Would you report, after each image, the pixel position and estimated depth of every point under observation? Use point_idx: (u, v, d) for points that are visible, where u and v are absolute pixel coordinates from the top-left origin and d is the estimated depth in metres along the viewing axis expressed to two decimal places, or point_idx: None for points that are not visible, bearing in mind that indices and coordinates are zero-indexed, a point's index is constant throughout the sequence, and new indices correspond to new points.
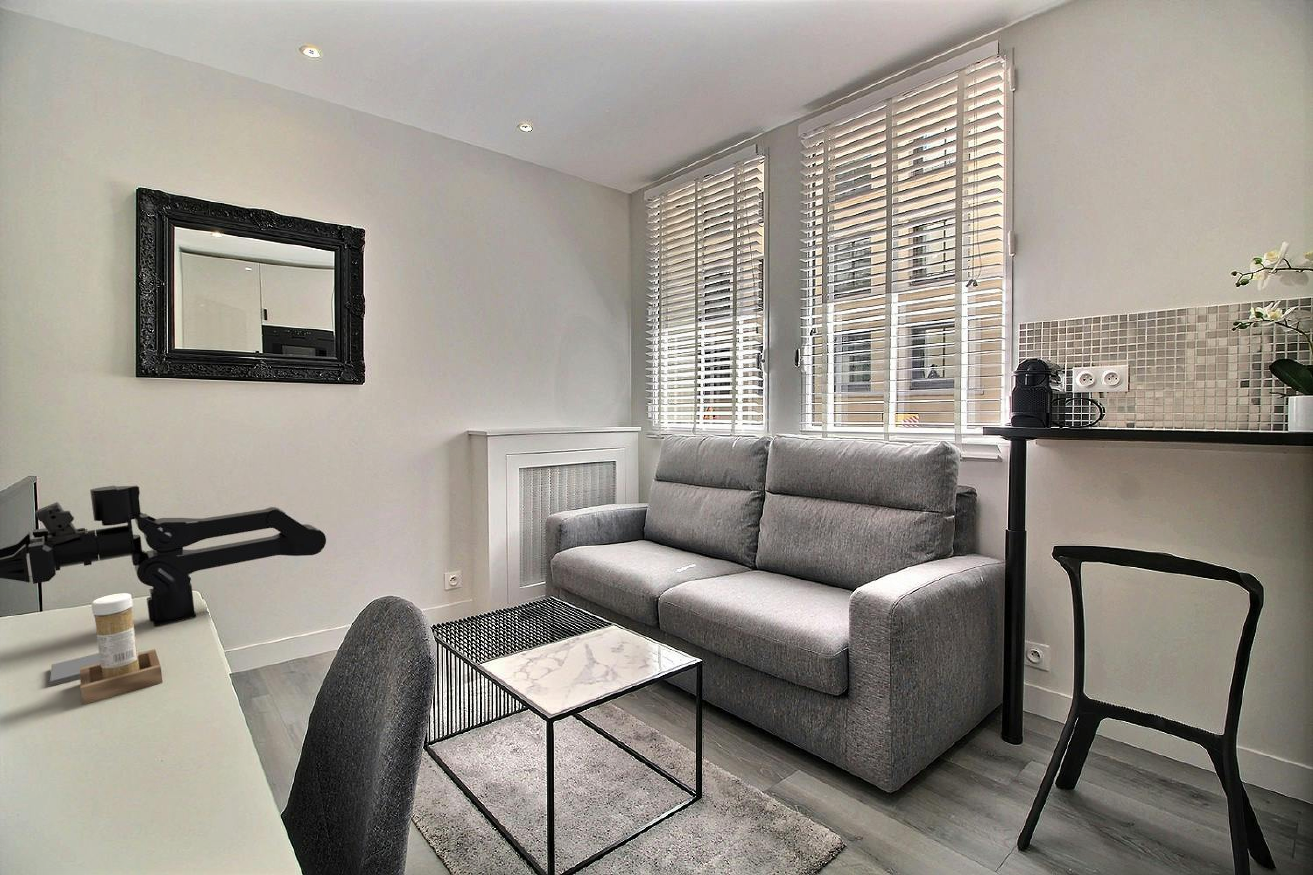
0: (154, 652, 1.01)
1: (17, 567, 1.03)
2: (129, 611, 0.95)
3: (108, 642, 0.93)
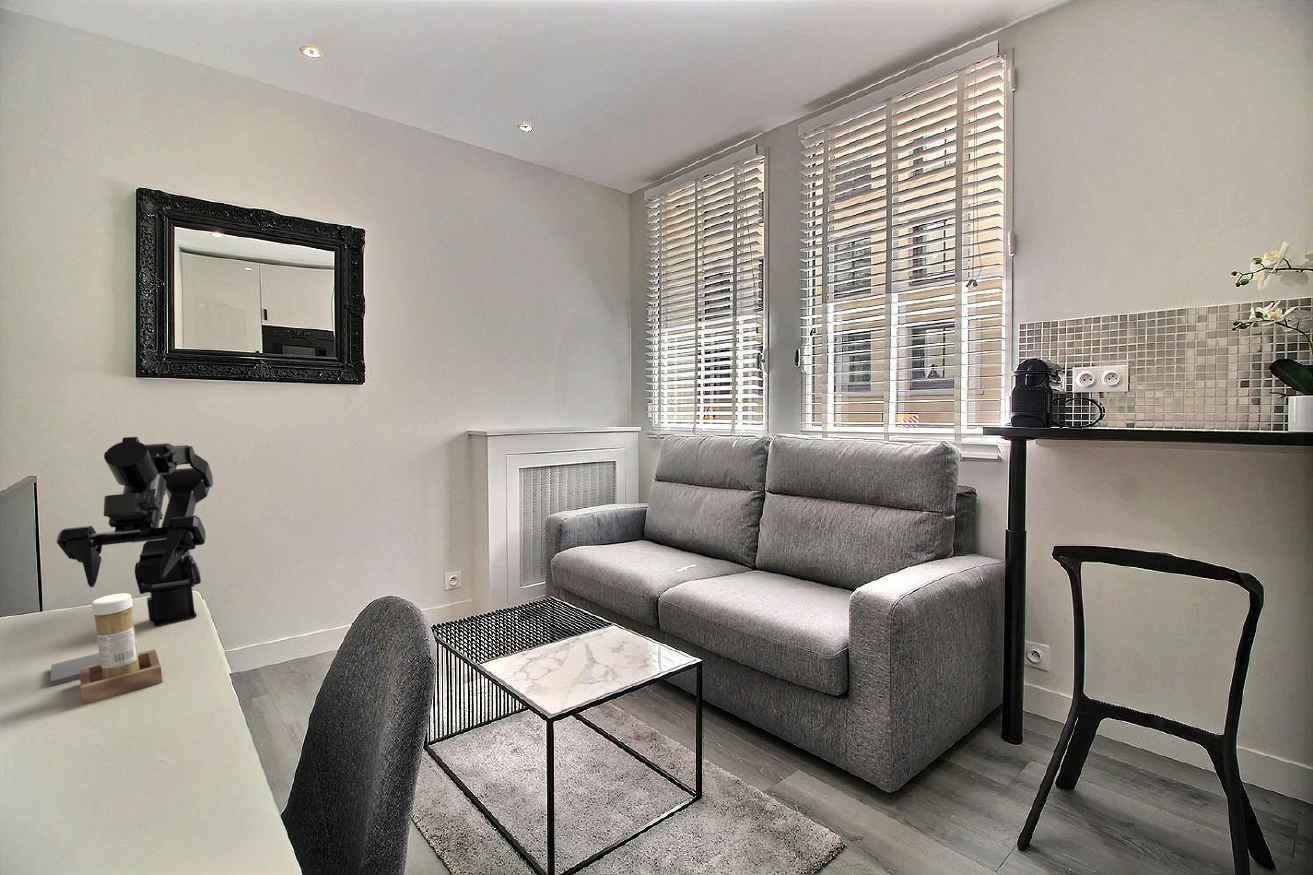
0: (154, 652, 1.01)
1: (176, 548, 1.08)
2: (129, 611, 0.95)
3: (108, 642, 0.93)
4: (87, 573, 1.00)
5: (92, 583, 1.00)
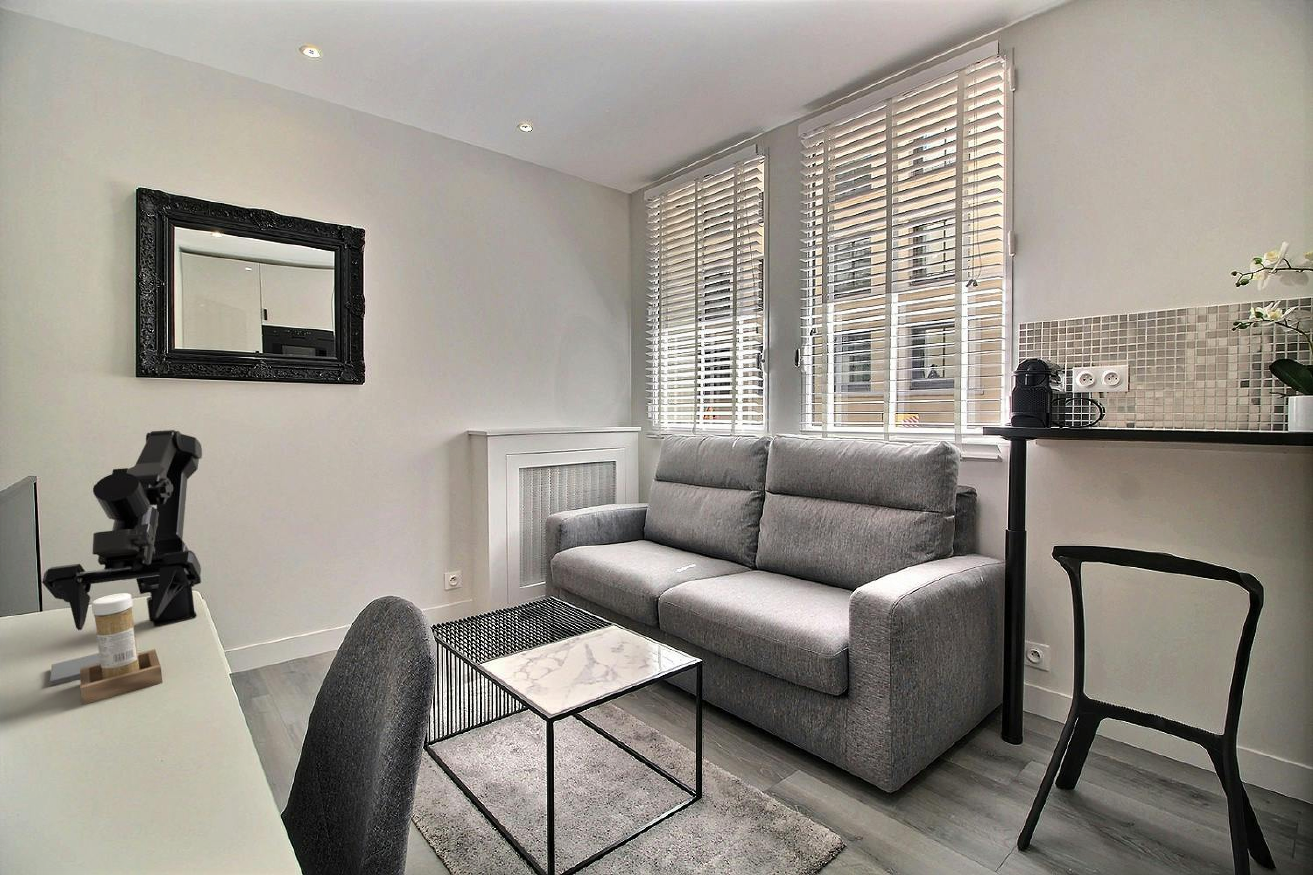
0: (154, 652, 1.01)
1: (169, 585, 1.02)
2: (129, 611, 0.95)
3: (108, 642, 0.93)
4: (75, 615, 0.95)
5: (80, 626, 0.95)
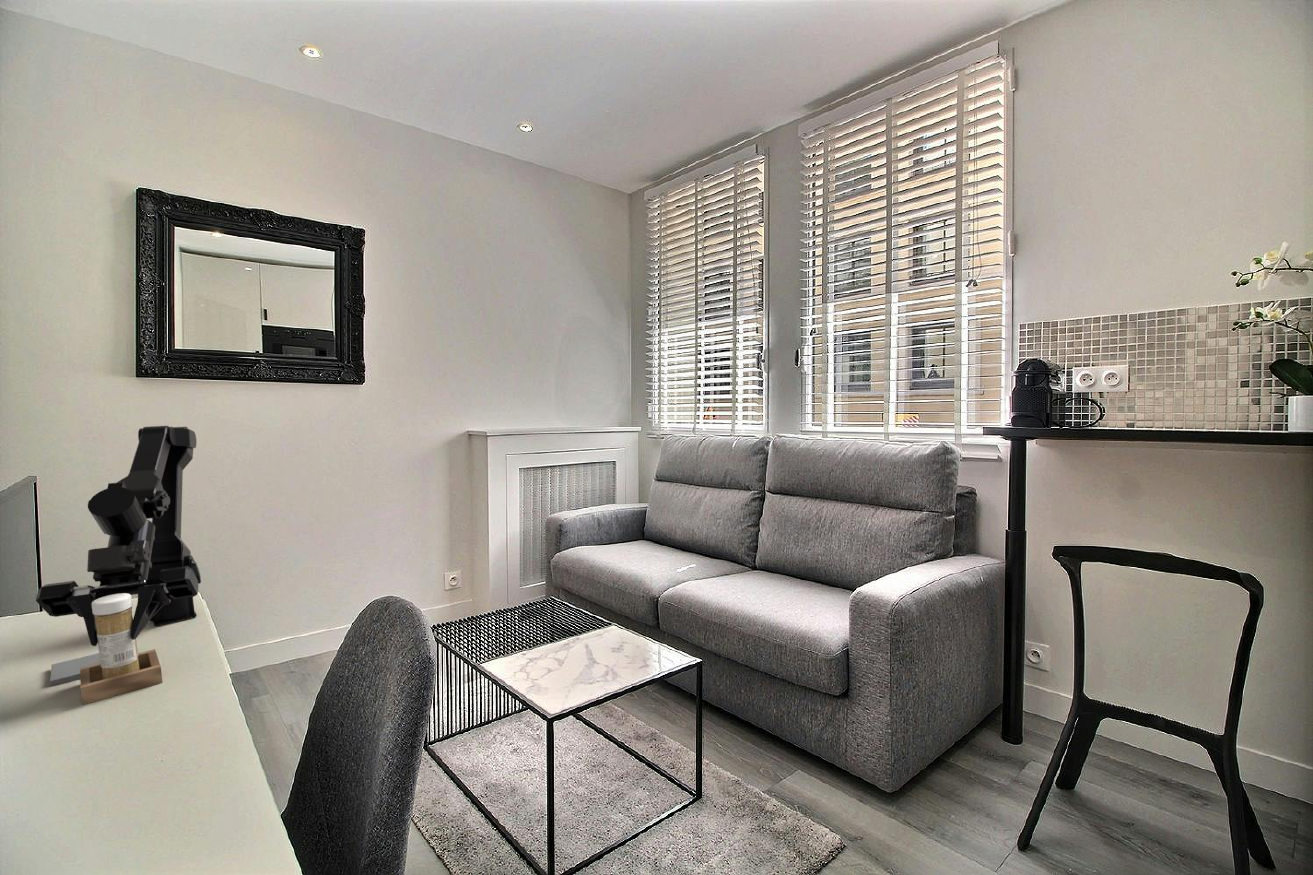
0: (154, 652, 1.01)
1: (148, 604, 0.99)
2: (129, 611, 0.95)
3: (108, 642, 0.93)
4: (89, 631, 0.93)
5: (95, 642, 0.93)
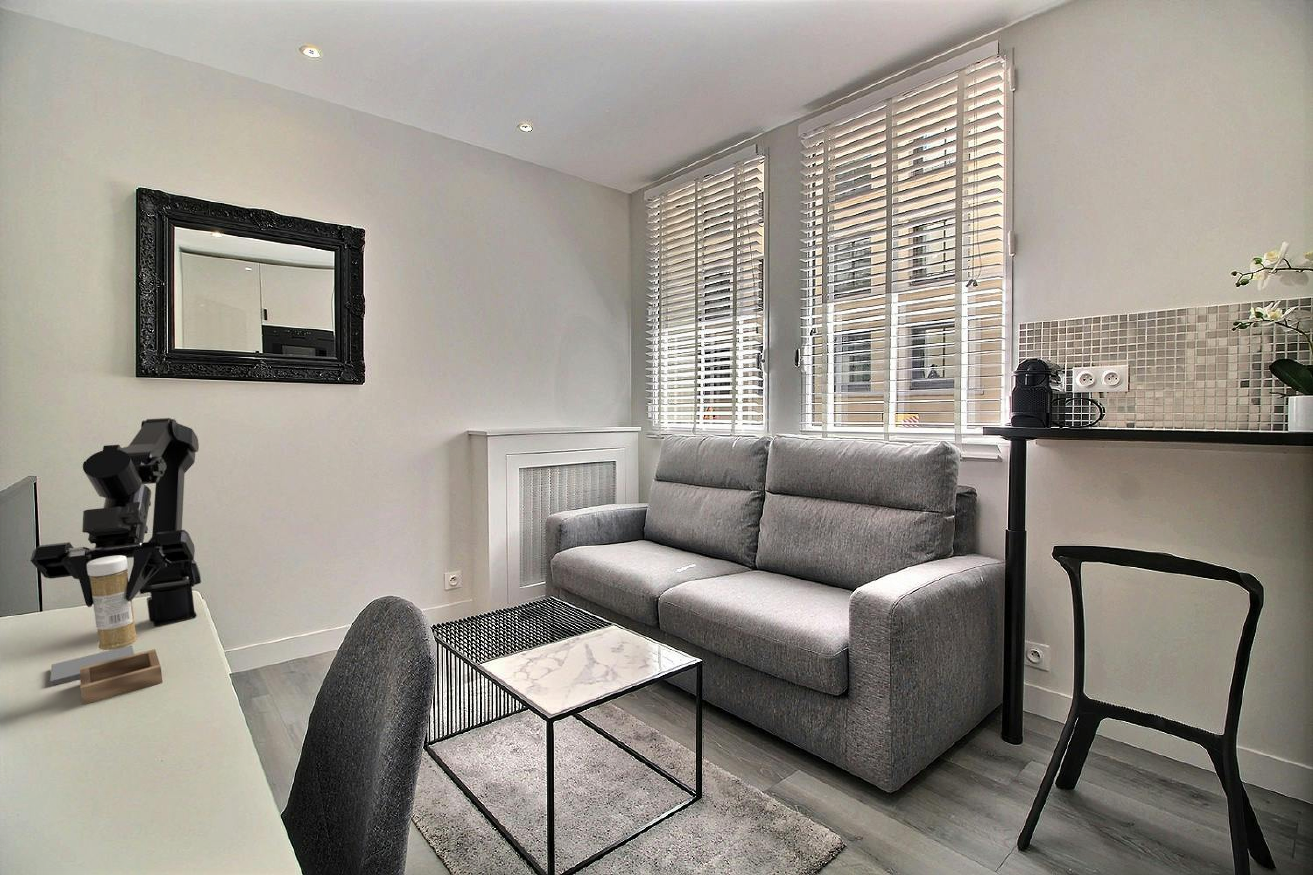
0: (154, 652, 1.01)
1: (144, 567, 0.99)
2: (124, 573, 0.95)
3: (104, 604, 0.93)
4: (84, 592, 0.93)
5: (90, 603, 0.93)
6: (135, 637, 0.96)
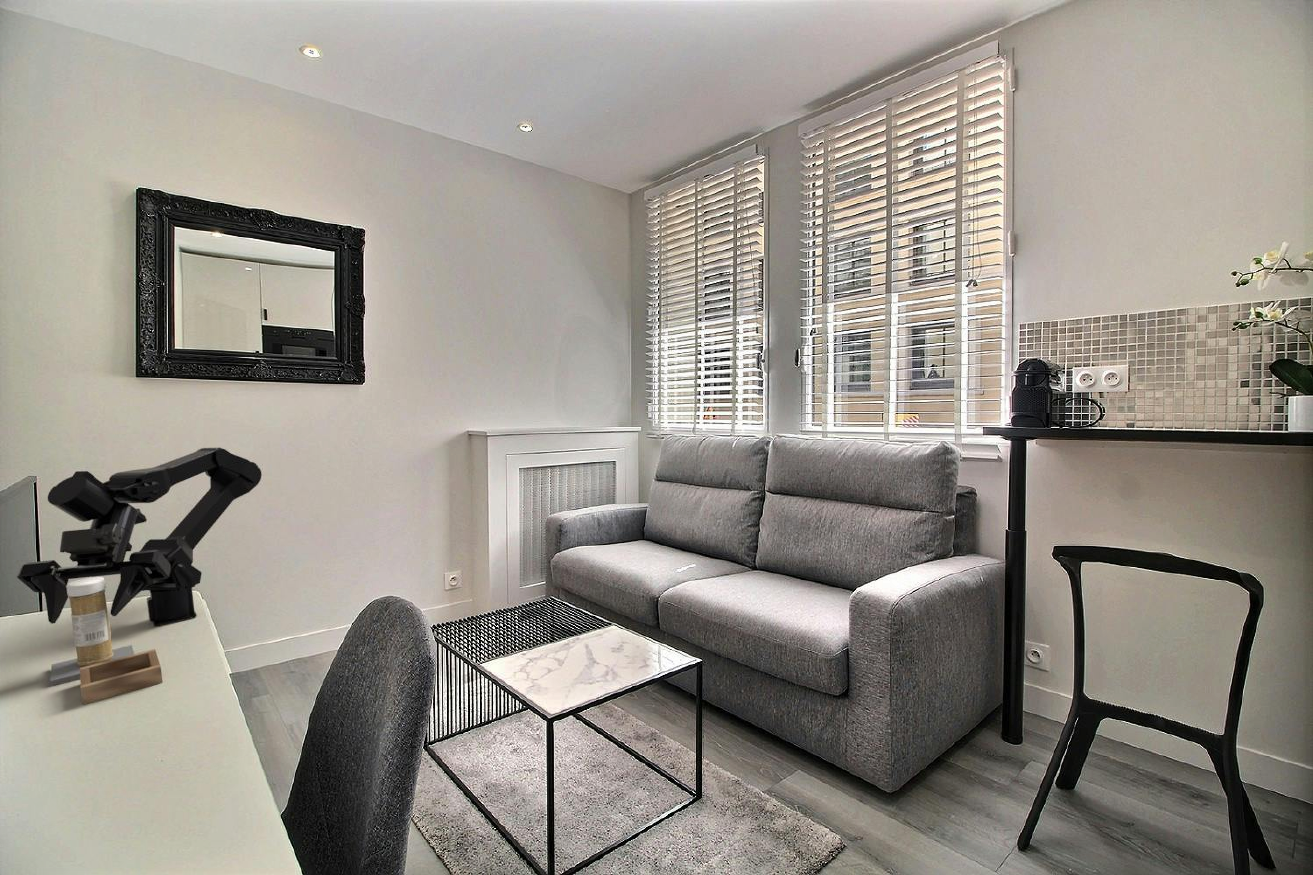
0: (154, 652, 1.01)
1: (132, 584, 1.05)
2: (101, 594, 1.01)
3: (80, 622, 1.00)
4: (49, 609, 0.99)
5: (53, 620, 0.99)
6: (111, 654, 1.03)
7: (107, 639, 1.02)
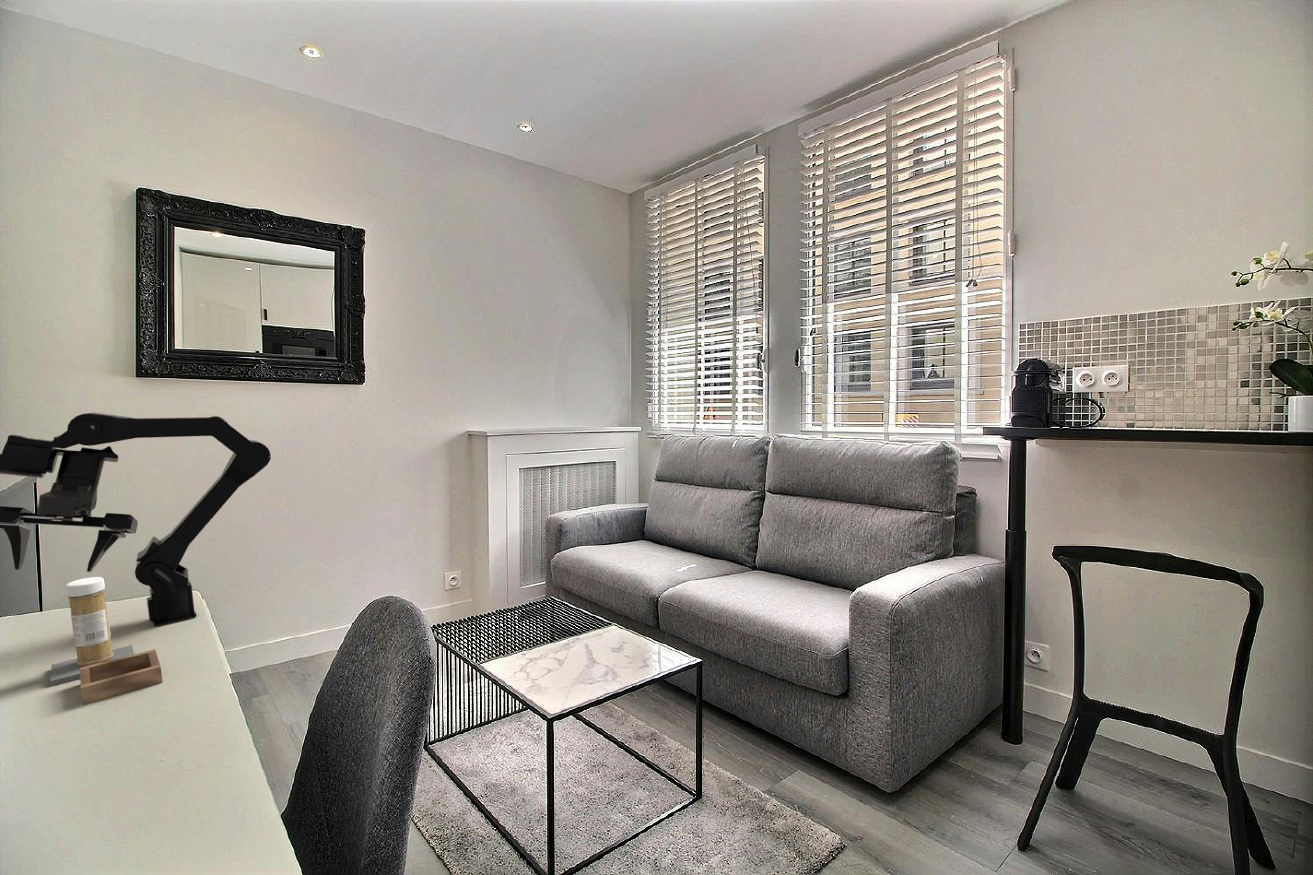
0: (154, 652, 1.01)
1: None
2: (100, 594, 1.01)
3: (79, 622, 1.00)
4: (15, 558, 1.05)
5: (19, 567, 1.06)
6: (110, 654, 1.03)
7: (107, 639, 1.02)
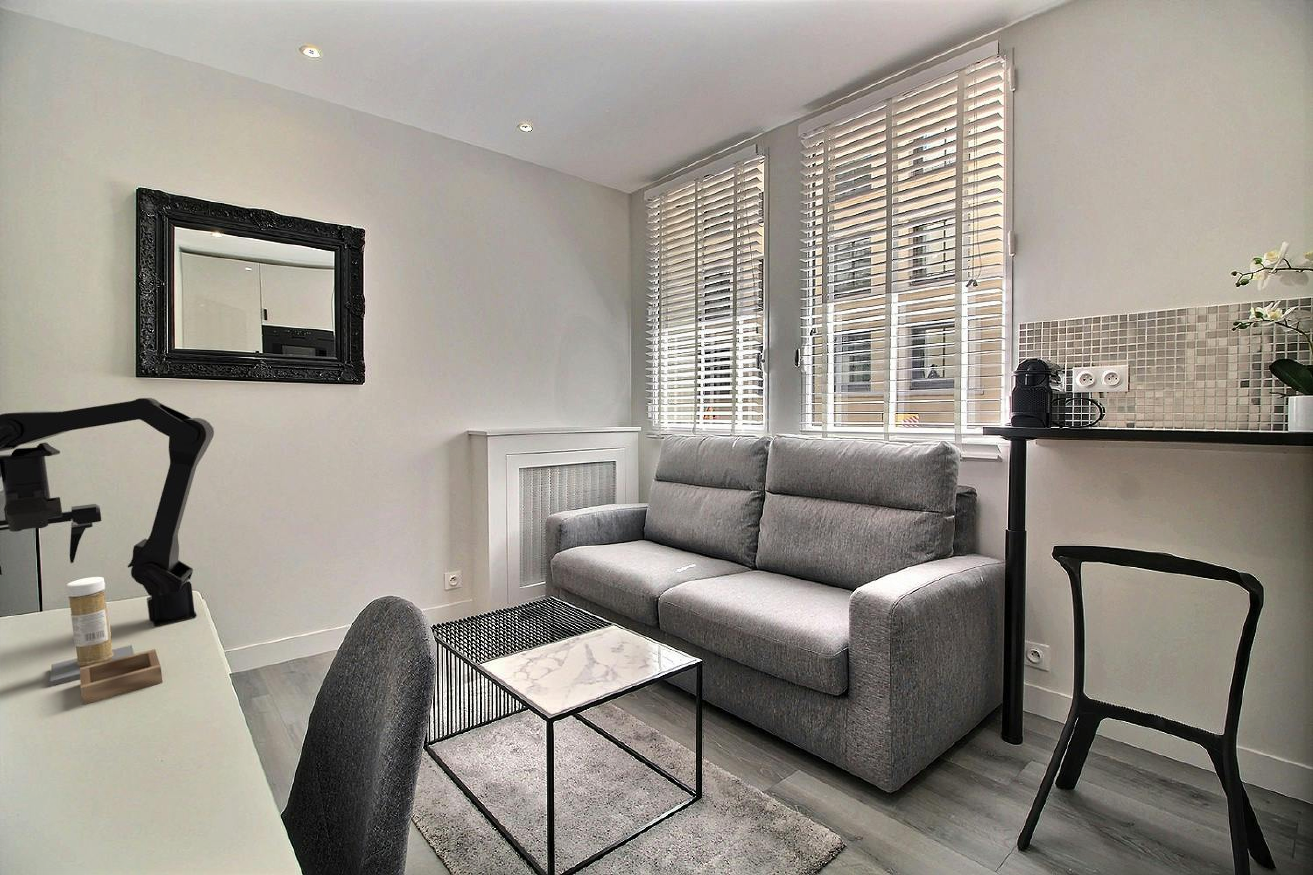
0: (154, 652, 1.01)
1: None
2: (101, 594, 1.01)
3: (80, 622, 1.00)
4: None
5: None
6: (111, 654, 1.03)
7: (107, 639, 1.02)
